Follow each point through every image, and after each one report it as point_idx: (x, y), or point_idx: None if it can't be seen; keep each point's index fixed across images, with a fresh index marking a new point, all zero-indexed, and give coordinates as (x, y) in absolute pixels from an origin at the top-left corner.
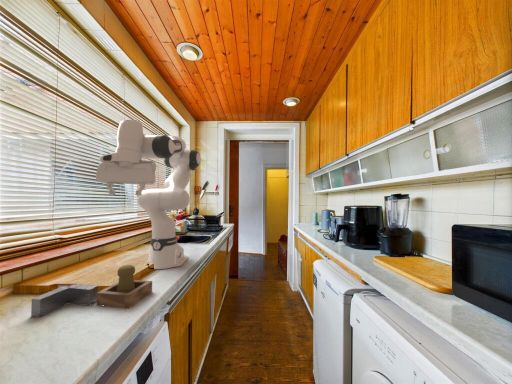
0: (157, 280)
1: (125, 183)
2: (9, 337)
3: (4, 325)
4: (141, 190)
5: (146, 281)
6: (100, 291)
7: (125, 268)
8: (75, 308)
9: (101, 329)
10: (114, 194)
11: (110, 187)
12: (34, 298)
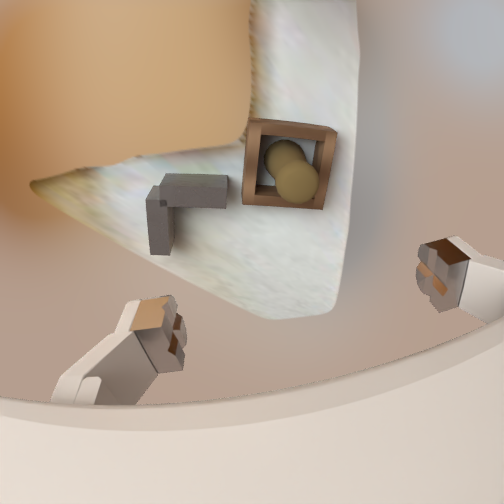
0: (305, 52)
1: (306, 395)
2: (192, 279)
3: (148, 260)
4: (484, 279)
5: (323, 135)
6: (245, 197)
7: (305, 200)
8: None
9: (307, 254)
10: (176, 307)
11: (127, 387)
12: (154, 253)
